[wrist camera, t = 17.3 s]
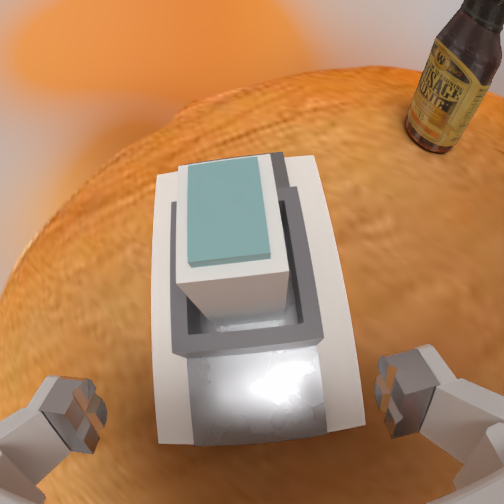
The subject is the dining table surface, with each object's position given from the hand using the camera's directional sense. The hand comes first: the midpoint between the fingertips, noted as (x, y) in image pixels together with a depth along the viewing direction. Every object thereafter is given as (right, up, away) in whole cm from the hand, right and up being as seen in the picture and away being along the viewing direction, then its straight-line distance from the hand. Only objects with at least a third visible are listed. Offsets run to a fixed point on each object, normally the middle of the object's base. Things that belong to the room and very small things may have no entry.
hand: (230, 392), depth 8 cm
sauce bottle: (+20, +16, +21) cm, 33 cm away
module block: (0, +2, +14) cm, 14 cm away
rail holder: (0, +1, +16) cm, 16 cm away
